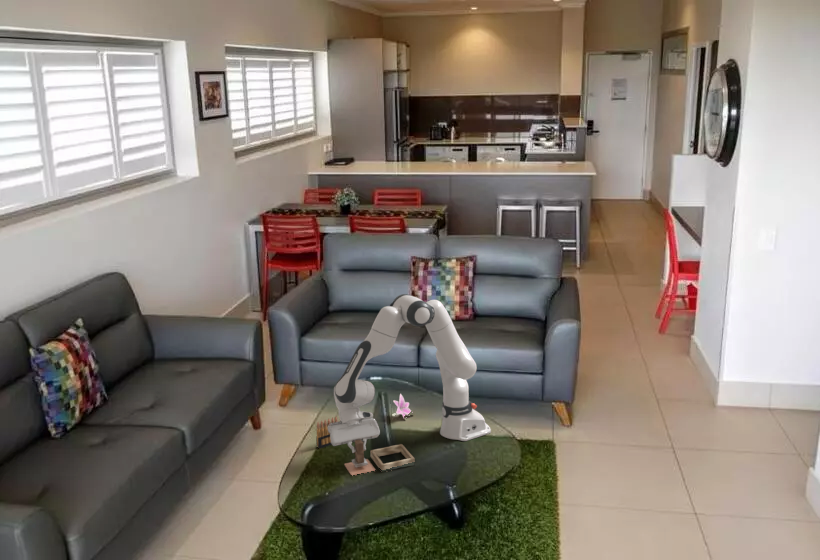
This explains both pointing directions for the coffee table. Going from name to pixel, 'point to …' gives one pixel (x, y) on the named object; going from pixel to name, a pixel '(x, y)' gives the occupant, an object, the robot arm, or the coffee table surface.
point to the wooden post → (359, 454)
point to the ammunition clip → (324, 434)
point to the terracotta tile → (359, 468)
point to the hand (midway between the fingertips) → (359, 451)
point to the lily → (402, 406)
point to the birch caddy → (391, 450)
